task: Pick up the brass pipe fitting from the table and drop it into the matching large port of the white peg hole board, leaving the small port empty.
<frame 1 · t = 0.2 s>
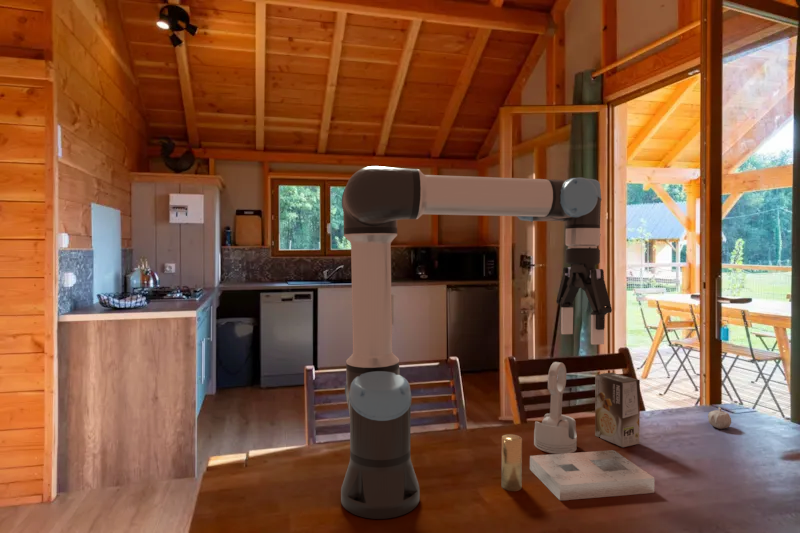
hand: (581, 338, 117), 28 cm above the table, fingers open, 13 cm apart
coffee box: (616, 440, 128), on the table
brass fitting: (511, 486, 102), on the table
engine component: (555, 446, 124), on the table
garlic: (719, 428, 137), on the table
white peg hole board: (588, 480, 105), on the table
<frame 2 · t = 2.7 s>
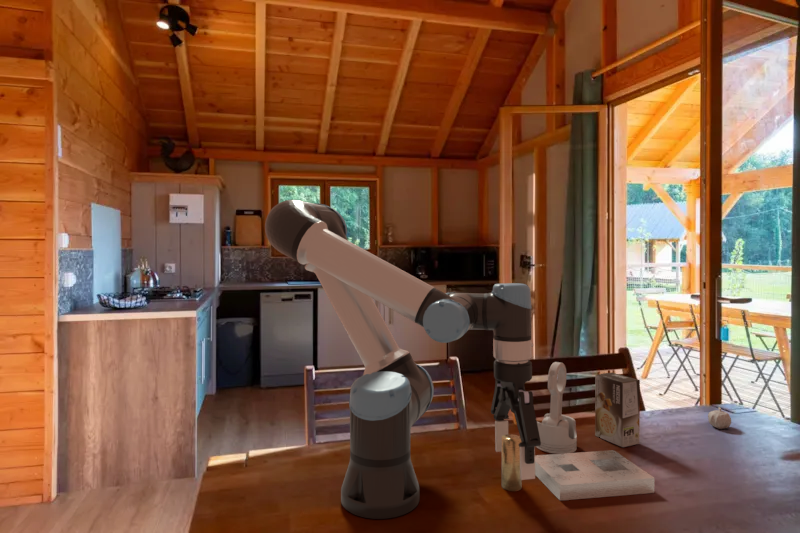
hand: (513, 463, 102), 5 cm above the table, fingers open, 13 cm apart
nothing on the table moved.
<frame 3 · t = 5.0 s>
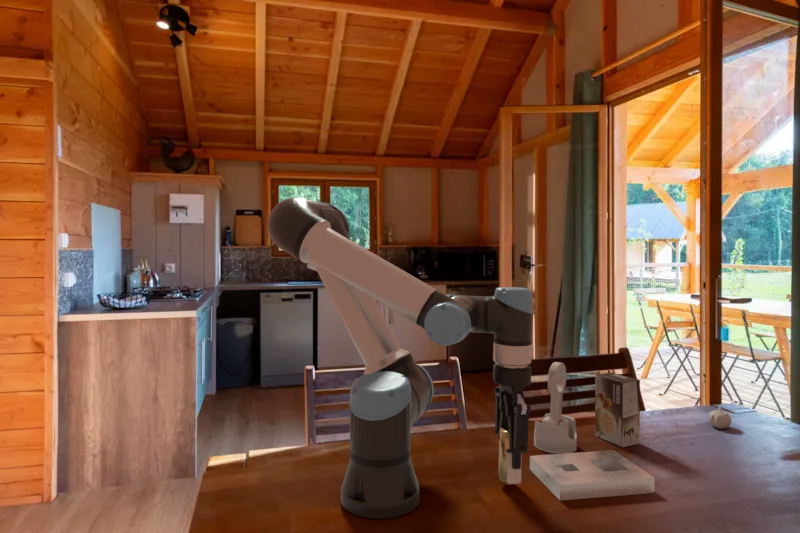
hand: (509, 477, 102), 2 cm above the table, fingers closed on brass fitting, 4 cm apart
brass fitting: (508, 479, 102), point 1 cm above the table, touching gripper
everything else where it was.
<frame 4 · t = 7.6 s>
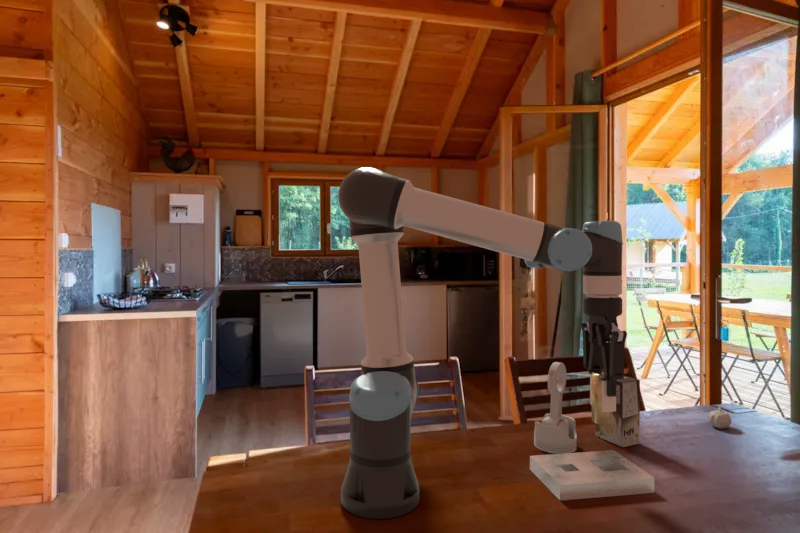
hand: (602, 407, 105), 15 cm above the table, fingers closed on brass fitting, 4 cm apart
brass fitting: (602, 421, 105), point 12 cm above the table, touching gripper
everything else where it was.
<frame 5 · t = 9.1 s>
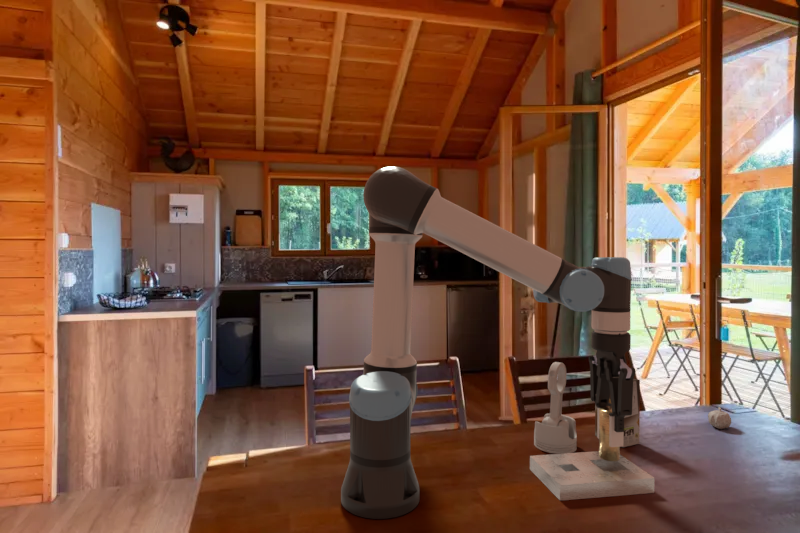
hand: (610, 441, 105), 8 cm above the table, fingers closed on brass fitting, 4 cm apart
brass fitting: (609, 457, 106), point 5 cm above the table, touching gripper
everything else where it was.
when the fingers open (5 cm above the table, at t = 10.4 s): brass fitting drops 2 cm, resting in white peg hole board.
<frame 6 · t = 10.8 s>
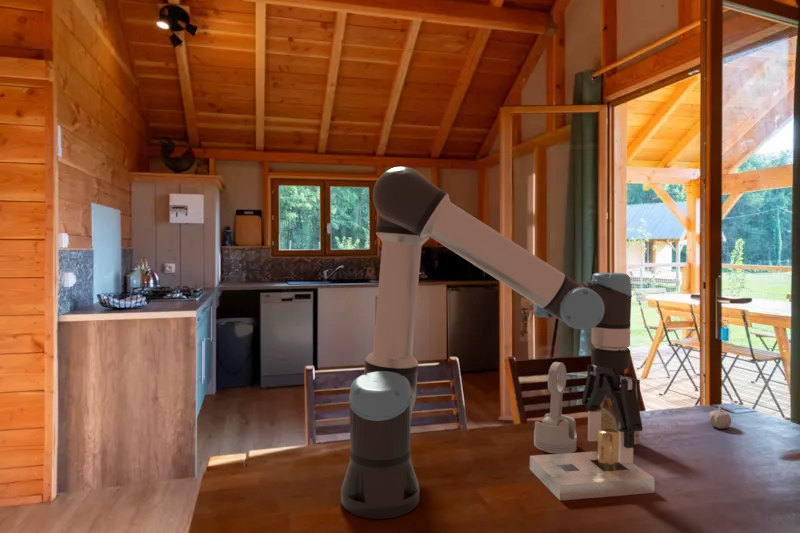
hand: (609, 450, 106), 6 cm above the table, fingers open, 11 cm apart
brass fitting: (607, 478, 106), resting in white peg hole board
everything else where it was.
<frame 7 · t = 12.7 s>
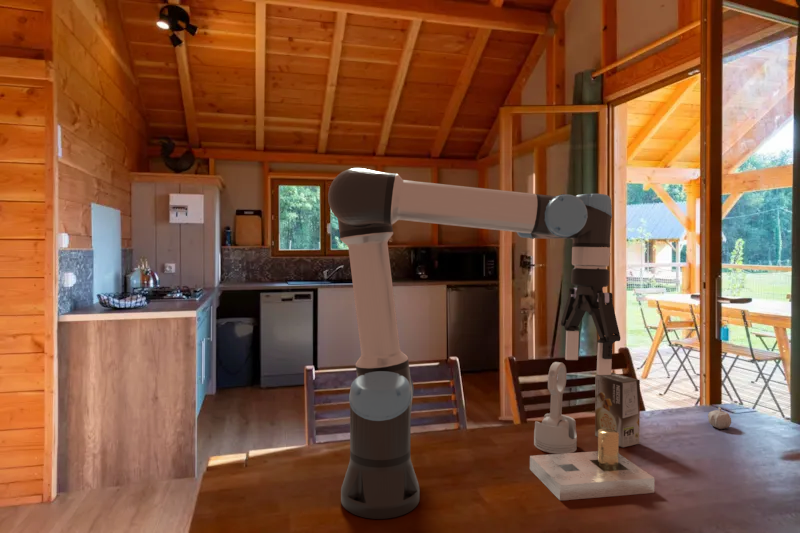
hand: (586, 366, 108), 23 cm above the table, fingers open, 13 cm apart
nothing on the table moved.
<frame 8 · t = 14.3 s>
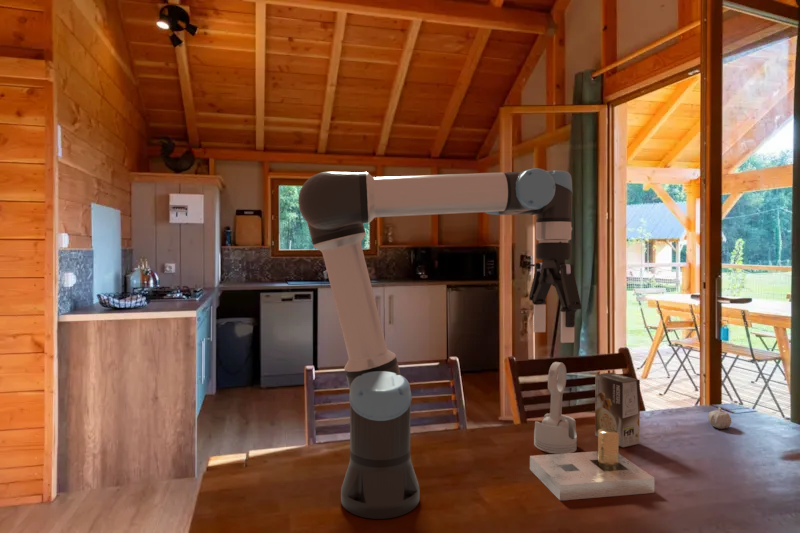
hand: (552, 337, 112), 29 cm above the table, fingers open, 13 cm apart
nothing on the table moved.
at the end: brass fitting 0.2 cm from the target spot on the white peg hole board, point 0.0 cm above the white peg hole board's base; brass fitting tilted 0°; the gripper is holding nothing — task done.
